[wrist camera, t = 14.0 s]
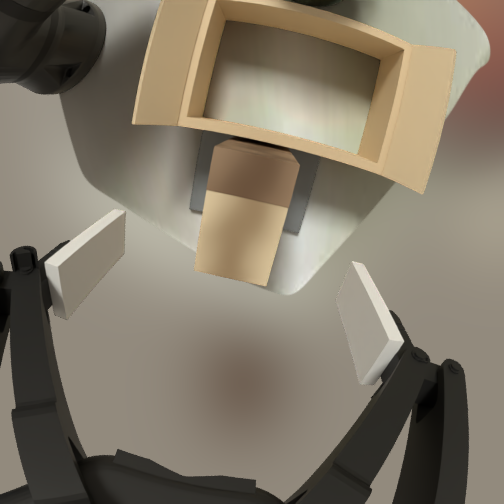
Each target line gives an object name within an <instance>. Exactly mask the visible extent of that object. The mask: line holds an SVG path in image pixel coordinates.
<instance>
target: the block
mask: <svg viewBox="0 0 504 504" xmlns="http://www.w3.org/2000/svg"><path fill="white" fill-rule="evenodd" d="M299 168H300V165H299V163H298V162H297V160H296V159H295V157H294V156H293V155H292V153H291V152H290V150H289V149H288V148H287V147H284V146H280V145H276V144H271V143H267V142H263V141H258V140H254V139H249V138H244V137H239V136H235V137H233V138H230V139H228V140H226V141H224V142H222V143H220V144H218V145H216V146H214V151H213V156H212V161H211V166H210V172H209V177H208V183H207V188H206V196H205V202H204V208H203V214H202V220H201V226H200V233H199V239H198V246H197V253H196V259H195V267H194V270H195V271H199V272H203V273H208V274H212V275H216V276H221V277H225V278H230V279H234V280H239V281H244V282H248V283H253V284H258V285H262V286H266V285H267V282H268V278H269V275H270V271H271V268H272V265H273V261H274V257H275V254H276V250H277V247H278V243H279V240H280V236H281V233H282V229H283V225H284V222H285V218H286V215H287V211H288V208H289V205H290V201H291V198H292V194H293V190H294V186H295V183H296V179H297V175H298V171H299Z"/></svg>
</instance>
